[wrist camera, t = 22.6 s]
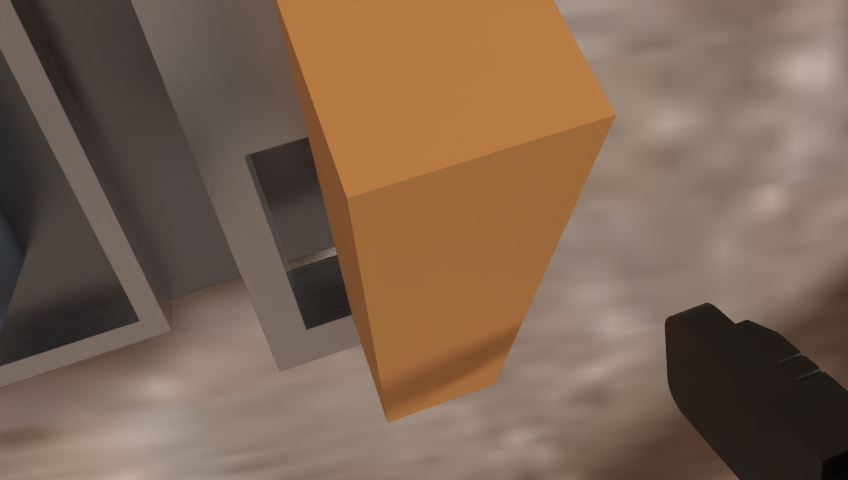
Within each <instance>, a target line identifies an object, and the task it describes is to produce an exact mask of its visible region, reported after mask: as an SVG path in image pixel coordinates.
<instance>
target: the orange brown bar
mask: <svg viewBox="0 0 848 480" xmlns="http://www.w3.org/2000/svg"><path fill="white" fill-rule="evenodd" d="M275 4H276V9H277V13H278V17H279V21H280V25H281V29H282V33H283V37H284V41H285V45H286V49H287V53H288V57H289V61H290V65H291V69H292V73H293V77H294V81H295V86H296V90H297V94H298V98H299V102H300V106H301V110H302V114H303V118H304V122H305V126H306V130H307V134H308V138H309V142H310V146H311V150H312V154H313V158H314V163H315V167H316V171H317V175H318V179H319V183H320V187H321V191H322V195H323V199H324V203H325V207H326V211H327V215H328V219H329V223H330V227H331V231H332V235H333V240H334V244H335V248H336V252H337V256H338V260H339V264H340V268H341V272H342V276H343V280H344V284H345V288H346V292H347V296H348V300H349V304H350V308H351V312H352V317H353V320H354V323H355V326H356V329H357V332H358V335H359V338H360V341H361V344H362V347H363V350H364V353H365V356H366V359H367V362H368V365H369V368H370V371H371V374H372V377H373V380H374V383H375V386H376V389H377V392H378V395H379V398H380V401H381V404H382V407H383V410H384V413H385V416H386V419H387V422H390V421H393V420H396V419H398V418H401V417H404V416H407V415H409V414H412V413H415V412H418V411H421V410H423V409H426V408H429V407H432V406H434V405H437V404H440V403H443V402H446V401H448V400H451V399H454V398H457V397H459V396H462V395H465V394H468V393H471V392H473V391H476V390H479V389H482V388H484V387H487V386H490V385H493V384H495V382H496V380H497V377H498V375H499V373H500V371H501V368H502V366H503V364H504V362H505V359H506V357H507V355H508V353H509V351H510V348H511V346H512V344H513V342H514V339H515V337H516V335H517V333H518V331H519V328H520V326H521V324H522V322H523V319H524V317H525V315H526V313H527V311H528V308H529V306H530V304H531V302H532V299H533V297H534V295H535V293H536V291H537V288H538V286H539V284H540V282H541V279H542V277H543V275H544V273H545V270H546V268H547V266H548V264H549V262H550V259H551V257H552V255H553V253H554V250H555V248H556V246H557V244H558V242H559V239H560V237H561V235H562V233H563V230H564V228H565V226H566V224H567V222H568V219H569V217H570V215H571V213H572V210H573V208H574V206H575V204H576V202H577V199H578V197H579V195H580V193H581V190H582V188H583V186H584V184H585V181H586V179H587V177H588V175H589V173H590V170H591V168H592V166H593V164H594V161H595V159H596V157H597V155H598V153H599V150H600V148H601V146H602V144H603V141H604V139H605V137H606V135H607V133H608V130H609V128H610V126H611V124H612V121H613V119H614V117H615V113H614V111H613V109H612V108H611V106H610V104H609V102H608V100H607V98H606V97H605V95H604V93H603V91H602V89H601V87H600V86H599V84H598V82H597V80H596V78H595V76H594V75H593V73H592V71H591V69H590V67H589V65H588V63H587V62H586V60H585V58H584V56H583V54H582V52H581V51H580V49H579V47H578V45H577V43H576V41H575V40H574V38H573V36H572V34H571V32H570V30H569V29H568V27H567V25H566V23H565V21H564V19H563V18H562V16H561V14H560V12H559V10H558V8H557V7H556V5H555V3H554V1H553V0H275Z"/></svg>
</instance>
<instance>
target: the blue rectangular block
mask: <svg viewBox="0 0 848 480" xmlns="http://www.w3.org/2000/svg"><path fill="white" fill-rule="evenodd" d="M25 257H26V254H25V252H24V251H23V249H22V247H21V245H20V244H19V242H18V240H17V238H16V237H15V235H14V233H13V231H12V229H11V228H10V226H9V224H8V222H7V221H6V219H5V217H4V215H3V214H2V212H1V210H0V331H1V328H2V325H3V322H4V319H5V317H6V314H7V311H8V308H9V305H10V302H11V299H12V296H13V293H14V290H15V287H16V284H17V281H18V278H19V275H20V272H21V269H22V266H23V263H24V260H25Z"/></svg>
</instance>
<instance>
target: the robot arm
mask: <svg viewBox="0 0 848 480" xmlns="http://www.w3.org/2000/svg"><path fill="white" fill-rule="evenodd" d="M665 339H666V358H667V378H668V384H669V388H670V391H671V394H672V396H673V399H674V401H675V403H676V405H677V406H678V408H679V409H680V411H681V412H682V414H683V415H684V416H685V417H686V418H687V419H688V421H689V422H690V423H691V424H692V425H693V426H694V428H695V429H696V430H697V431H698V432H699V433H700V435H701V436H702V437H703V438H704V439H705V440H706V441H707V443H708V444H709V445H710V446H711V447H712V448H713V450H714V451H715V452H716V453H717V454H718V455H719V457H720V458H721V459H722V460H723V461H724V462H725V463H726V465H727V466H728V467H729V468H730V469H731V470H732V472H733V473H734V474H735V475H736V476H737V477H738V479H739V480H848V391H847V390H846V389H845V388H843V387H842V386H841V385H840V384H839V383H837V382H836V381H835V380H834V379H833V378H831V377H830V376H829V375H828V374H827V373H825V372H823V373H822V372H821V371H820V368H819V367H818V366H817V365H816V364H815V363H813V362H812V361H811V360H810V359H809V358H807V357H806V356H802V354H801V352H800V351H799V350H798V349H797V348H796V347H794V346H793V345H792V344H791V343H790V342H788V341H787V340H786V339H785V338H784V337H782V336H781V335H780V334H779V333H778V332H775V331H773V330H770V329H768V328H766V327H763V326H761V325H759V324H756V323H754V322H751V321H749V320H745V321H742V322H740V323H737V324H735V323H734V322H732V321H731V320H730V319H729V318H728V317H727V316H726V315H725V314H723V313H722V312H721V311H720V310H719V309H718V308H717V307H715V306H714V305H712V304H710V303H704V304H702V305H699V306H696V307H694V308H691V309H688V310H686V311H683V312H680V313H678V314H675V315H673V316H670V317H668V318H667V319H666V321H665Z"/></svg>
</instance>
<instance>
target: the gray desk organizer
mask: <svg viewBox="0 0 848 480" xmlns="http://www.w3.org/2000/svg"><path fill="white" fill-rule="evenodd" d="M0 210H1V212H2V214H3V215H4V217H5V219H6V221H7V222H8V224H9V226H10V228H11V229H12V231H13V233H14V235H15V237H16V238H17V240H18V242H19V244H20V245H21V247H22V249H23V251H24V252H25V254H26V257H25V260H24V263H23V266H22V269H21V272H20V275H19V278H18V281H17V284H16V287H15V290H14V293H13V296H12V299H11V302H10V305H9V308H8V311H7V314H6V317H5V319H4V322H3V325H2V328H1V331H0V387H3V386H6V385H9V384H12V383H15V382H18V381H21V380H24V379H27V378H30V377H33V376H36V375H40V374H43V373H46V372H49V371H52V370H55V369H58V368H61V367H64V366H67V365H70V364H73V363H76V362H79V361H82V360H85V359H88V358H91V357H94V356H97V355H100V354H103V353H106V352H109V351H112V350H115V349H119V348H122V347H125V346H128V345H131V344H134V343H137V342H140V341H143V340H146V339H149V338H152V337H155V336H158V335H161V334H164V333H167V332H170V331H172V304H171V302H170V299H173V298H176V297H179V296H182V295H185V294H188V293H191V292H195V291H198V290H201V289H204V288H207V287H210V286H213V285H216V284H219V283H222V282H226V281H229V280H232V279H235V278H238V277H241V276H242V279H243V281H244V284H245V286H246V289H247V291H248V294H249V296H250V299H251V301H252V304H253V306H254V309H255V311H256V314H257V316H258V319H259V321H260V324H261V326H262V329H263V331H264V334H265V336H266V339H267V341H268V344H269V346H270V349H271V351H272V354H273V356H274V359H275V361H276V364H277V366H278V369H279V371H280V372H281V371H284V370H287V369H290V368H293V367H296V366H299V365H301V364H304V363H307V362H310V361H313V360H316V359H319V358H322V357H325V356H328V355H330V354H333V353H336V352H339V351H342V350H345V349H348V348H351V347H354V346H357V345H359V344H361V341H360V338H359V335H358V332H357V329H356V326H355V323H354V320H353V317H352V312H351V308H350V304H349V300H348V296H347V292H346V288H345V284H344V280H343V276H342V272H341V268H340V264H339V260H338V256H337V255H335V256H332V257H329V258H326V259H323V260H320V261H317V262H314V263H311V264H308V265H304V266H301V267H298V268H295V269H292V270H290V267H289V264H288V261H291V260H294V259H297V258H300V257H303V256H306V255H309V254H312V253H315V252H318V251H322V250H325V249H328V248H331V247H334V246H335V244H334V240H333V235H332V231H331V227H330V223H329V219H328V215H327V211H326V207H325V203H324V199H323V195H322V191H321V187H320V183H319V179H318V175H317V171H316V167H315V163H314V158H313V154H312V150H311V146H310V142H309V138H308V134H307V130H306V126H305V122H304V118H303V114H302V110H301V106H300V102H299V98H298V94H297V90H296V86H295V81H294V77H293V73H292V69H291V65H290V61H289V57H288V53H287V49H286V45H285V41H284V37H283V33H282V29H281V25H280V21H279V17H278V13H277V9H276V4H275V0H0Z"/></svg>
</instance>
